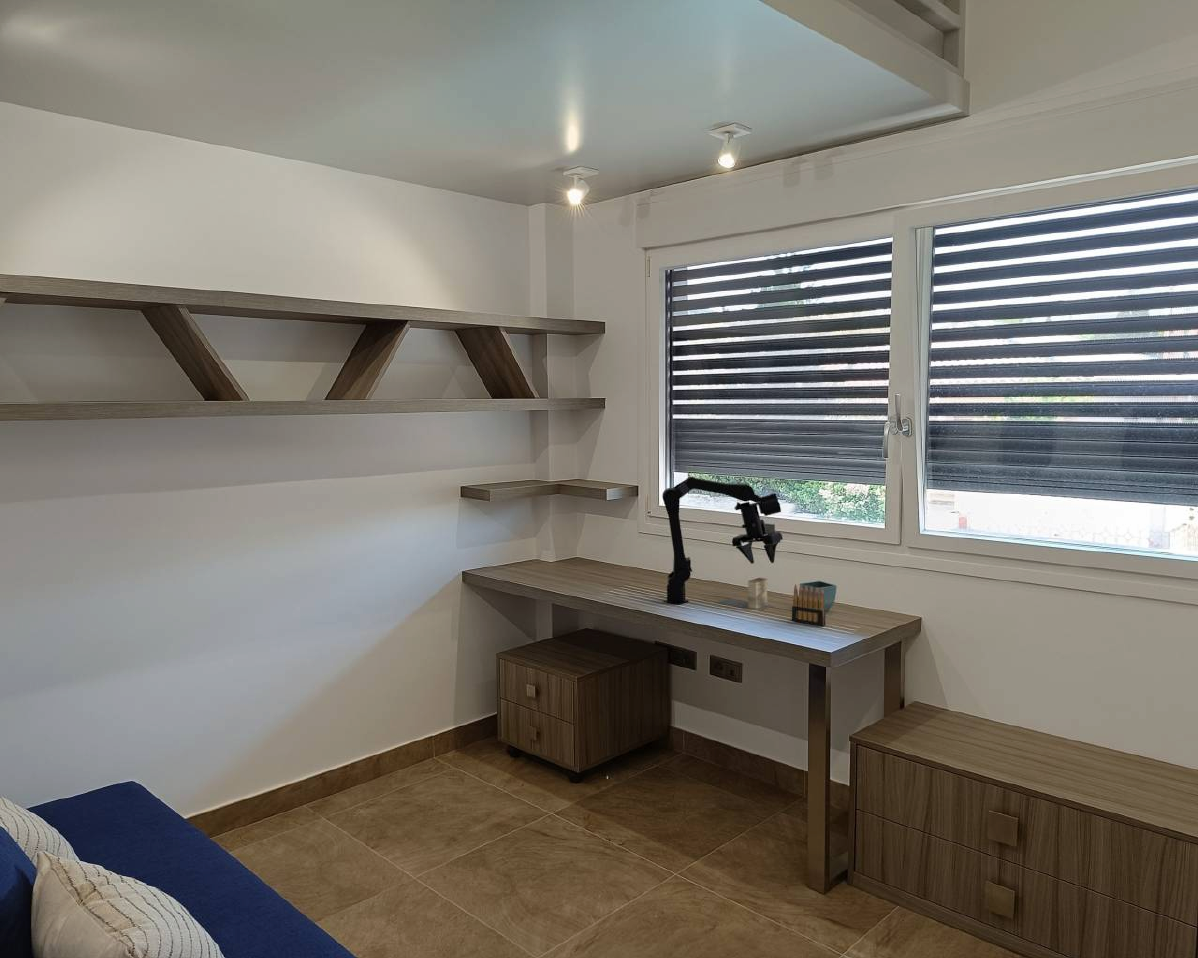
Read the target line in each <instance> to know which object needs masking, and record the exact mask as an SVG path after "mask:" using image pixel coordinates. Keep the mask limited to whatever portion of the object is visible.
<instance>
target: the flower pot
mask: <svg viewBox="0 0 1198 958" xmlns="http://www.w3.org/2000/svg"><path fill="white" fill-rule="evenodd" d="M800 585H802V589H803V598H804V589H805V586H807V589H808V599H809V590H810V587H811V586H812V589H813V599H814V594H815V588H816V587H817V588H818V596H819V599H820V590H821V588H823V592H824V609H825V613H827V612H829V611H830V609H832V607H833V605H834V603H835V600H836V593H837V587H838V585H836V584H832V583H828V582H825V581H822V580H815V581H809V582H803V583H799V586H800Z"/></svg>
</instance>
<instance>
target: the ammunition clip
mask: <svg viewBox="0 0 1198 958" xmlns="http://www.w3.org/2000/svg"><path fill="white" fill-rule="evenodd" d="M791 608H792V610H791V621H792V622H793V623H796V624H802V625H809V626H813V627H814V626H816V627H820V628H821V627H822V628H824V627H826V612H825V609H824V592H823V588H821V590H820V599H819V596H818V588H817V587H816V588H815V594H814V599H813V589H812V586H811V587H810V590H809V599H808V589H807V586H805V589H804V598H803V589H802V585H800V584H799V589H798V585H797V584H796V583H795V584H794V587H793V597H792V607H791Z"/></svg>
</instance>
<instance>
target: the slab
mask: <svg viewBox="0 0 1198 958" xmlns="http://www.w3.org/2000/svg"><path fill="white" fill-rule="evenodd" d="M747 583H748V584H747V585H748V587H747V589H748V590H747V593H748V594H747V595H748V596H747V601H748V607H749V608H748V609H751V608H755V609H754V610H757V608H760V607H763V606H766V605H768V578H763V577H758V578H757V577H756V578H753V579H751V580H748V582H747Z"/></svg>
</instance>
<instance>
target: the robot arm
mask: <svg viewBox="0 0 1198 958" xmlns="http://www.w3.org/2000/svg"><path fill="white" fill-rule="evenodd" d="M692 490H698V491H703V492H710V493H715V494H721V495H726V496H729V497H731V498H734V499H736V500H739V501H742V503H740V502H739V501H737V502H736V504H735V506H734V510H735V511H740V513H741V517H742V520H743V521H742V522H743V524H742V525H741V527H742V528H743V529H745V532H746V533H745V534H744V533H743V534H740V535H737V536H735V537H732V539H731V544H732V547H735V548H736V549H738V550H739V551H740V552H741V554H743V556H744V557H745V558H746V559H747V561H749V563H750V564H752V565H753V564H755V559H754V554H753V550H752V545H753V543H756V542H757V543H759V542H760V543H761V542H762V543H763V544H764V545H763V548H764V551H765V553H766V555H767V557H768V559H769V561H770V564H773V563H775V556H776V549H777V545H778V544H779V543H781V541H783V540H784V539H783V534H782V533H781V531H776V528H775V527H776V524H774V523H773V524H772V523H765V520H763V519H761V516H760V514H761V515H762V514H763V515H764V517H766V516H771V515H775V514H778V513H782V508H781V504H780V502H779V500H778V497H777V494H776V492H774V493H770V494H768V495H763V496H760V495H759V494H756V493H755V491H754V488H753V487H752V486H751V485H749V484H748V483H744V482H743V483H741V482H737V483H736V482H734V483H732V482H731V483H727V482H721V481H715V480H709V479H703V478H698V477H695V476H688V477H687V478H686V479H685V480H683V481H681V482H679V483H678V484H676V485H675V486H673V487H668V488H666V489H664V491H663V492H662V495H661V497H662V500H663V504H664V507H665V509H666V513H667V515H668V521H669V528H670V535H671V542H672V543H671V544H672V551H673V561H672V563H673V565H672V566H673V568H672V571H671V572H670V573H669V574H668V575H667V577H666V578H667V582H668V583H667V585H666V599H665V600H663V603H666V604H671V605H672V604H673V605H681V604H684V603H688V602H690V601H689V599H686V582H687V581H688V580H689V579H690V577H691V573H693V570H692V569H693V568H692V567H691V564H692V563H691V561H692V560H691V558H690V556H687V557H686V554H685V548H684V543H683V535H682V527H681V520H680V501H681V500H680V499H682V498H683V497H685V496H686V495H687V494H688V493H690V491H692ZM749 501H751V502H753V503H750V502H749ZM759 512H760V513H759Z"/></svg>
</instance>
